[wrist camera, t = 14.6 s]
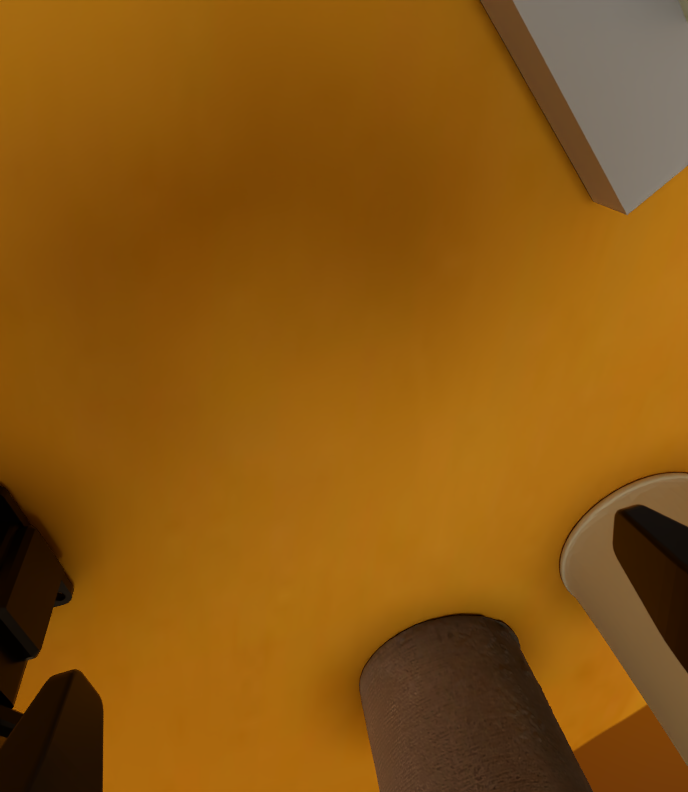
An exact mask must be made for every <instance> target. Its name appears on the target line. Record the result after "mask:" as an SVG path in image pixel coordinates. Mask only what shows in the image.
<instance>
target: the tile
mask: <svg viewBox="0 0 688 792" xmlns="http://www.w3.org/2000/svg"><path fill="white" fill-rule="evenodd" d="M480 1H481V3H482V4H483V6H484V8H485V10H486V12H487V13H488V15H489V17H490V19H491V20H492V22H493V24H494V26H495V28H496V29H497V31H498V33H499V35H500V36H501V38H502V40H503V42H504V44H505V45H506V47H507V49H508V51H509V52H510V54H511V56H512V58H513V60H514V61H515V63H516V65H517V67H518V68H519V70H520V72H521V74H522V76H523V77H524V79H525V81H526V83H527V84H528V86H529V88H530V90H531V91H532V93H533V95H534V97H535V99H536V100H537V102H538V104H539V106H540V107H541V109H542V111H543V113H544V115H545V116H546V118H547V120H548V122H549V123H550V125H551V127H552V129H553V131H554V132H555V134H556V136H557V138H558V139H559V141H560V143H561V145H562V147H563V148H564V150H565V152H566V154H567V155H568V157H569V159H570V161H571V163H572V164H573V166H574V168H575V170H576V171H577V173H578V175H579V177H580V179H581V180H582V182H583V184H584V186H585V187H586V189H587V191H588V193H589V194H590V196H591V198H592V200H593V202H596V203H598V204H601V205H603V206H606V207H608V208H611V209H613V210H616V211H618V212H621V213H623V214H626V215H628V214H629V213H630V212H631V211H633V210H634V209H635V208H636V207H637V206H639V205H640V204H641V203H642V202H644V201H645V200H646V199H647V198H648V197H650V196H651V195H652V194H653V193H655V192H656V191H657V190H658V189H659V188H661V187H662V186H663V185H664V184H665V183H667V182H668V181H669V180H670V179H672V178H673V177H674V176H675V175H676V174H678V173H679V172H680V171H681V170H683V169H684V168H685V167H686V166H687V165H688V22H687V21H686V18H685V16H684V13H683V11H682V8H681V5H680V3H679V0H480Z"/></svg>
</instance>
